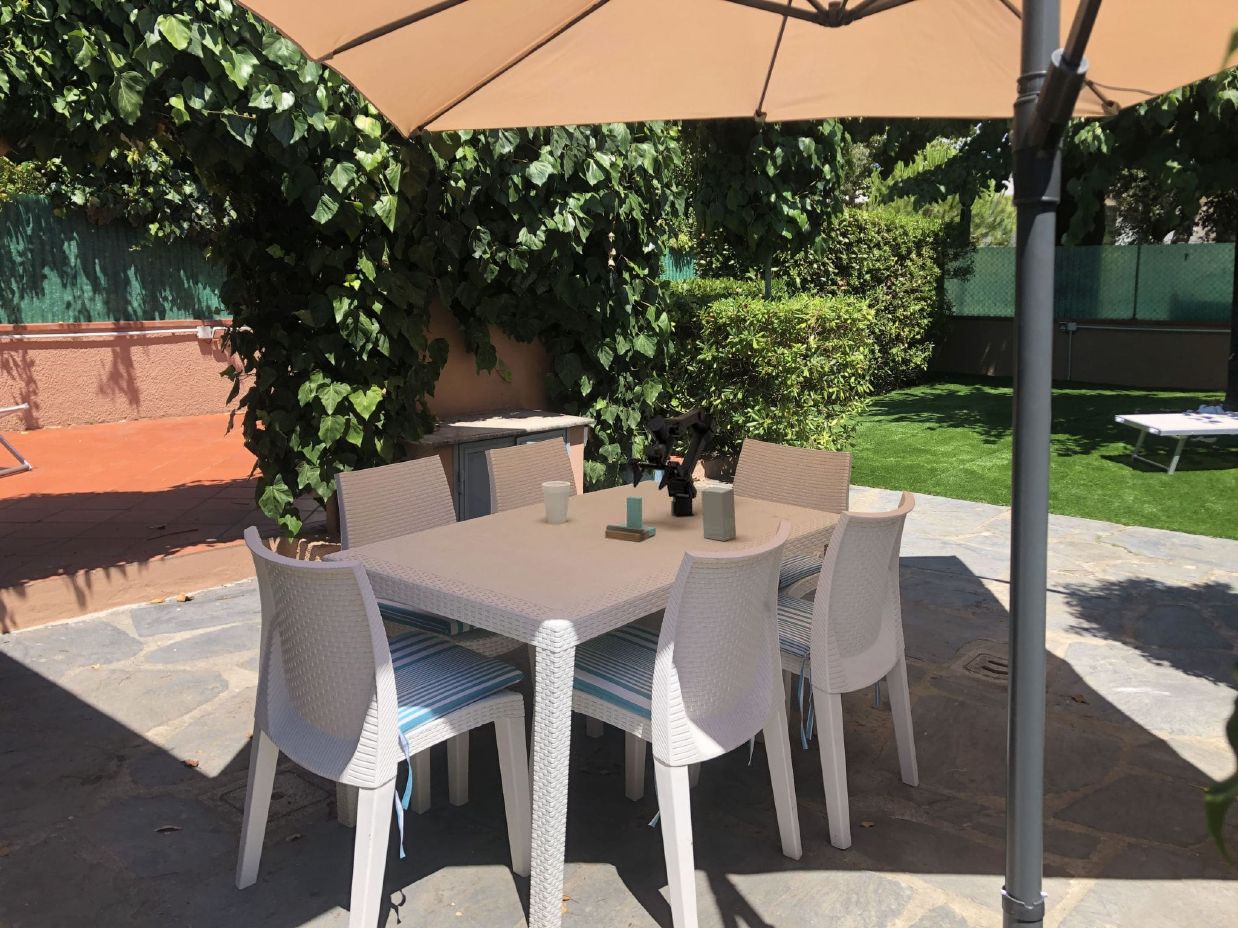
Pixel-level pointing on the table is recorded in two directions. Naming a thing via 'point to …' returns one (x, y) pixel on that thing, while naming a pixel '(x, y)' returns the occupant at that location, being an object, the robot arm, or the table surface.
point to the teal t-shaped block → (636, 515)
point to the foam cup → (556, 500)
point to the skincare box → (718, 513)
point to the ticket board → (626, 533)
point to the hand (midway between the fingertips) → (646, 488)
